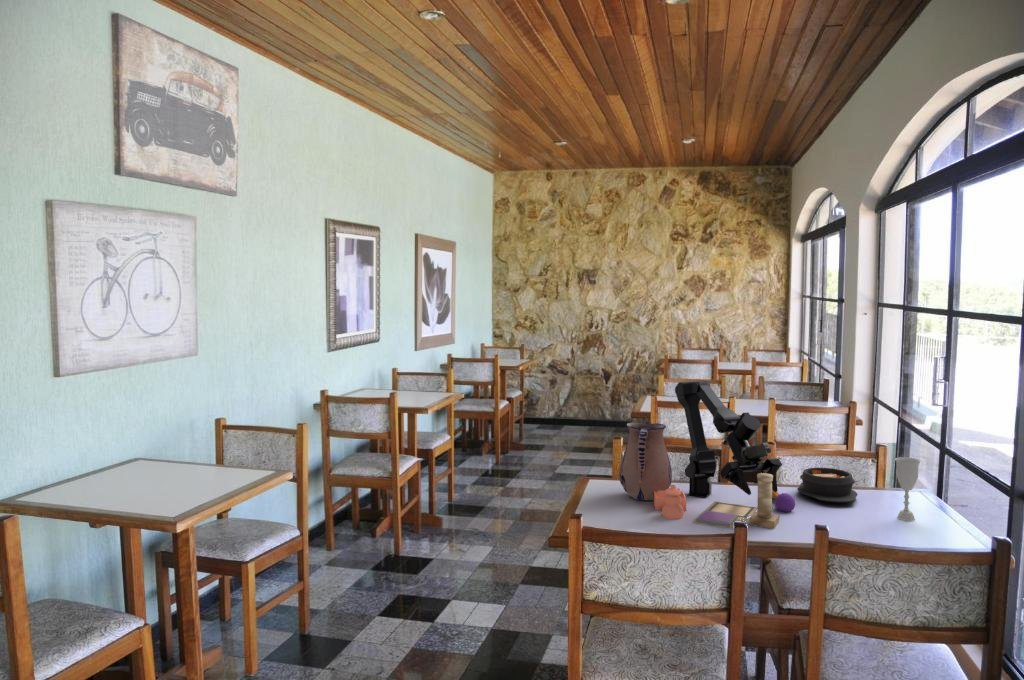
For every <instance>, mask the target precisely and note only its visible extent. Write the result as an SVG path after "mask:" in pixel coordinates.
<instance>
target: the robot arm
mask: <svg viewBox="0 0 1024 680" xmlns="http://www.w3.org/2000/svg"><path fill="white" fill-rule="evenodd" d="M674 393H675V396H676V398H677V401H678V403H679V404H680V406H682V407H683V409H684V414H685V420H686V424H687V429H688V433H689V439H690V443H691V444H690V445H691V452H690V453H689V456H688V458H689V463H688V464H687V466H686V467H685V469H684V475H685V477H687V478H689V479H688V480H689V485H688V487H689V490H688V491H689V492H688V493H687V495H688V496H690V497H691V496H692V497H700V498H708V497H709V496H710V495H712V481H711V478H714V477H715V476H716V475H715V474H716V470H717V467H718V466H717V465H718V464H717V462H718V461H717V459H716V454H715V451H714V450H713V449H710V448H709V447H708V445H707V440H706V435H705V431H704V426H703V420H702V416H701V411H700V407H699V405H700V401H701V402H702V403H703V404H704V406H705V408H707V410H708V412H710V414H711V416H712V417H713V418H712V423H713V425H714V427H715V430H716V431H717V432H718V433H720V434H726V433H727V435H726V436H724V440H723V445H724V446H729V449H730V451H731V452H732V456H731V458H732V460H733V461H729V462H728V461H727V462H726V463H725V464H724V466H722V468H721V470H720V473H719V474H720V476H721V479H722V480H727V482H730V483H732V484H733V485H735V486H736V487H738V488H739V489H740V490H741V491H743V492H744V493H745V494H747V495H748V496H751V495H752V491H751V488H750V486H749V484H748V482H747V480H746V478H745V476H744V473H747V472H748V473H749V472H759V471H760V473H768V474H772V475H773V481H772V490H773V491H774V492H778V490H779V489H778V484H777V472H778V470H779V469H780V468H781V467H782V466H783V464H782V462H781V460H780V458H778V457H773V458H771V457H770V458H766V460H765V461H764V462H763V463H759V462H761V461H763V458H764V457H765V456H766V457H768V456H769V455H768V454H770V453H771V452H772V449H771V446H770V444H769V443H768V442H762V443H760V444H759V445H750V443H749V441H751V440H752V439H753V437H754V436H755V435H756V434H757V432H758V431H759V429H760V428H761V423H760V422H761V421H760V420H759V419H758V418H757V417H755V416H753V415H751V414H750V412H742V413H741V415H740V416H739V415H738V414H737V413H736V412H735V411H734V410H732V409H729V408H728V407H726V406H725V404H724V403H723V402H722V400H721V399H720V398H719V397H718V395H717V394H716V393H715V391H714V390H713V389H712V388H711V384H710V382H709V381H707V380H702V381H701V380H699V381H679V382H678V383H677V384H676V385H675V388H674ZM771 454H772V453H771Z"/></svg>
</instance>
